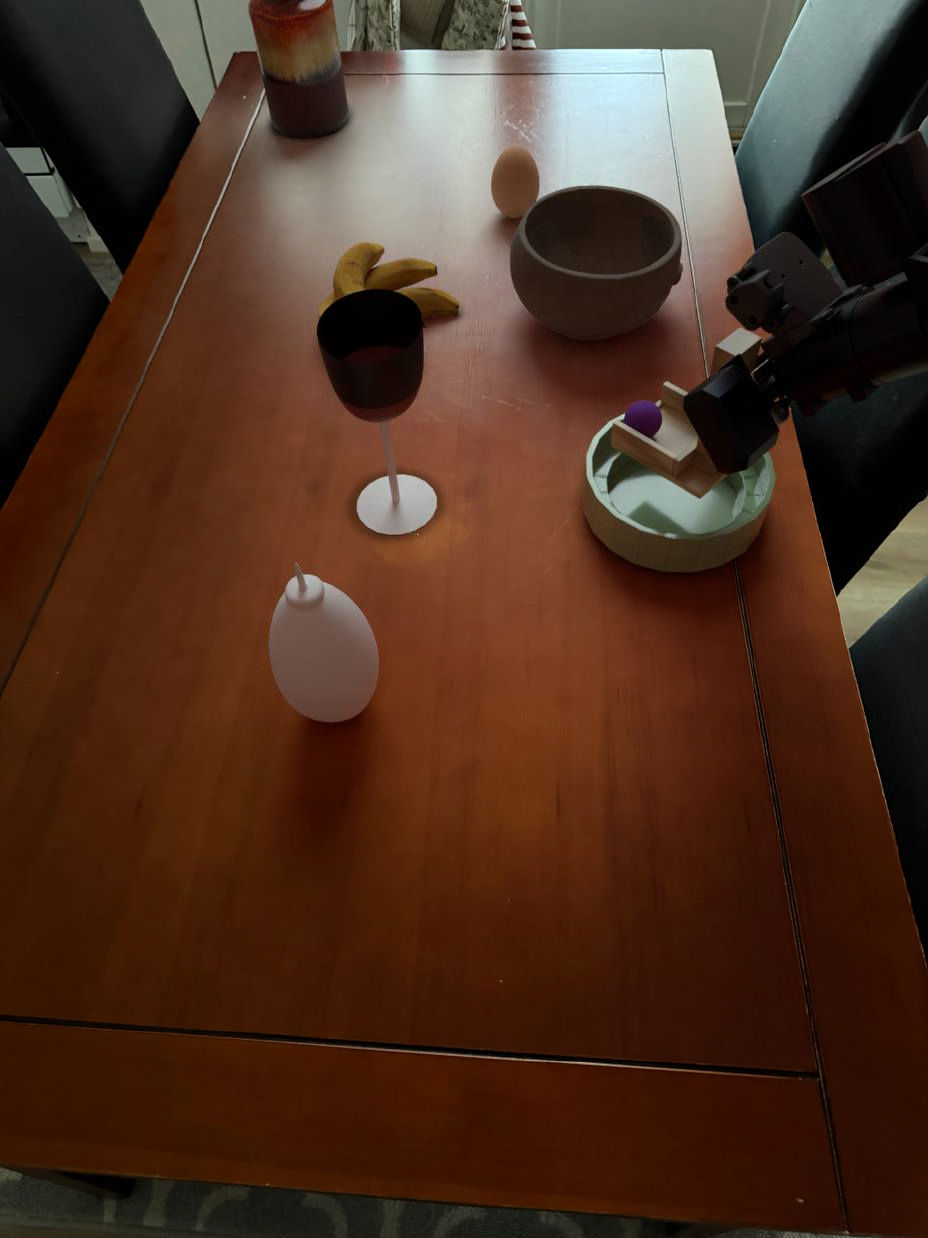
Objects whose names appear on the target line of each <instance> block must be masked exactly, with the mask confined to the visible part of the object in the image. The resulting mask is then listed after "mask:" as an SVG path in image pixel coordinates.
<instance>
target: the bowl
mask: <svg viewBox="0 0 928 1238" xmlns="http://www.w3.org/2000/svg"><path fill="white" fill-rule="evenodd" d="M509 247H510V248H509V270H510V271H509V272H510V278H511V282H512V285H513V288H514V291H515V293H516V295H517V297H518V299H519V300H520V302H521V303H522V305H523V307H524V308H525V309H526V310H527V311H528V313H529V314H530V315H532V317H533V318H534V319H536V320H537V321H538V322H539V323H540V324H541V325H543V326H544V327H545V328H547V329H549V330H551V331H552V332H555V333H557V334H560V335H563V336H565V337H569V338H572V339H576V340H582V341H599V340H601V341H602V340H605V339H611V338H614V337H617V336H619V335H623V334H625V333H627V332H631V331H634V330H636V329H638V328H639V327H641V326H642V325H643V324H645V323H646V322H648V321H649V320H650V319H652V317H654V316H655V315H656V314H657V313H658V312H659V311H660V309H661V308H662V306H663V305H664V303H665V302H666V300H667V299H668V297H669V295H670V294H671V290H672V288H673V286H677V285H678V284H679V282H680V281H681V279H682V274H683V272H684V265H683V263H682V262H681V258H682V251H683V249H682V248H683V235H682V229H681V226H680V223H679V221H678V220H677V218H676V217H675V215H674V214H673V212H671V210H670V209H669V208H667V207H666V206H665V205H663V204H662V203H660V202H659V201H657V200H655V199H654V198H652V197H650V196H647V195H645V194H643V193H640V192H638V191H635V190H631V189H627V188H622V187H617V186H609V185H597V184H596V185H595V184H594V185H593V184H591V185H575V186H574V185H573V186H567V187H565V188H561V189H558V190H554V191H552V192H550V193H548V194H546V195H543V196H542V197H541V198H539V199H537V200H536V202H535V203H534V204H532V205H531V206H530V207H529V208H528V210H527V211H526V213H525V215H524V216H522V217H521V220H520V222H519V225H518V226H517V228H516V230H515V232H514V235H513V236H512V238H511V242H510V246H509Z"/></svg>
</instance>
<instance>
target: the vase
mask: <svg viewBox="0 0 928 1238" xmlns="http://www.w3.org/2000/svg"><path fill="white" fill-rule="evenodd" d="M247 8H248V9H247V10H248V15H249V19H250V20H249V21H250V25H251V30H252V35H253V40H254V46H255V49H256V54H257V59H258V65H259V69H260V72H261V77H262V83H263V87H264V93H265V96H266V102H267V107H268V112H269V116H270V121H271V125H272V127H273V129H274V130H276V131H277V132H278V133H280V134H281V135H284V136H287V137H290V138H298V139H311V138H319V137H322V136H326V135H329V134H332V133H334V132H336V131H338V130H339V129H341V128H342V127H343V126H345V124H346V123H347V121H348V119H349V113H350V111H349V103H348V98H347V97H348V96H347V90H346V84H345V77H344V68H343V61H342V54H341V48H340V47H341V46H340V41H339V33H338V25H337V19H336V12H335V5H334V0H249V2H248V6H247Z"/></svg>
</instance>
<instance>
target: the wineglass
mask: <svg viewBox="0 0 928 1238" xmlns="http://www.w3.org/2000/svg"><path fill="white" fill-rule="evenodd" d="M396 291H397V290H395V291H391V290H385V289H369V290H362V291H357V292H354V293H351V294H348V295H346V296H344V297H342V298H340V299H338V300H337V301H335V302H334V303H332V304H331V305H330V306H329V307H328V308H327V309H326V310H325V311H324V312H323V314H322V315H321V317H320V319H319V318H318V321H317V325H316V337H317V341H318V346H319V351H320V354H321V358H322V361H323V364H324V367H325V370H326V371H325V372H326V374H327V376H328V377H327V378H328V379H329V382H330V384H331V387H332V389H333V391H334V393H335V395H336V397H337V398H338V400H339V402H340V403H341V404H342V406H343V407H344V409H346V410H347V411H348V412H349V413H350V414H351V415H352V416H353V417H355V418H356V419H358V420H361V421H363V422H368V423H373V424H375V423H376V424H379V425H380V430H381V431H380V433H381V439H382V443H383V444H382V445H383V451H384V458H385V464H386V471H387V475H386V476H382V477H379V478H378V479H375V480H374V481H372V482H370V483H368V485H367V486H366V487H365V488H364V489H363V490H362V491H361V492H360V495H359V496H358V497H357V500H356V512H357V515H358V518H359V520H360V521H361V523H363V524H364V526H365V527H367V528H368V529H370V530H372V531H374V532H375V533H379V534H383V535H388V536H393V535H396V536H397V535H405V534H408V533H411V532H416V531H417V530H419V529H420V528H422V527H424V526H425V525H426V524H427V523H428V522H429V521H430V520H431V519H432V518H433V517H434V515H435V513H436V510H437V507H438V498H437V495H436V493H435V490H434V488H433V487H432V486H431V485H430V484H429V483H428V482H426V480H424V479H421V478H419V477H417V476H414V475H410V474H397V467H396V460H395V453H394V447H393V440H392V433H391V425H390V421H392V420H395V419H396V418H398V417H399V416H401V415H403V414H404V413H405V412H407V410H409V408H410V407H411V406H412V405H413V403H414V401H415V400H416V398H417V395H418V393H419V391H420V388H421V385H422V382H423V377H424V376H423V375H424V366H425V337H424V328H423V320H424V319H423V317H422V314H421V311H420V309H419V307H418V306H417V304H416V303H415V302H414V301H413V300H411V299H410V298H409V297H407V296H405V295H403V294H401V293H398V292H396ZM422 319H423V320H422Z"/></svg>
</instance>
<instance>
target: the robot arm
mask: <svg viewBox="0 0 928 1238" xmlns="http://www.w3.org/2000/svg"><path fill="white" fill-rule="evenodd" d="M923 135H924V134H923V133H922V132H921V130H919V129H915V130H913V131H911V132H910V133H908V134H906V135H904V136H902V137H898V138H896V139H894V140H892V141H890V142H888V143H887V144H886V142H885V141H883V142H881V143H879V144H878V145H876V146H874V147H873V148H871V149H869V150H868V151H866V152H864V153H863V154H861V155H859V156H857V157H856V158H854V159H853V160H851V161H850V162H848V163H847V164H845V165H843V166H842V167H840V168H839V169H836V170H835V171H833V172H832V173H831V174H829V175H828V176H826V177H824V178H823V179H821V180H819V182H817V183H816V184H814V185H813V186H811V187H810V188H809V189H807V190H806V191H804V192H803V193H802V194H801V195H800V196H801V198H802V201H803V203H804V204H805V207H806V209H807V211H808V214H809V215H810V217H811V219H812V221H813V223H814V225H815V227H816V230H817V231H818V233H819V235H820V237H821V240H822V242H823V244H824V246H825V249H826V250H827V253H828V254H829V256H830V258H831V260H832V263H833V264H834V266H835V269H836V271H837V273H838V275H839V276H837V277H834V278H833V274H832V272H831V270H830V269H829V267H827V265H825V264H824V263H823V262H822V261H821V260H820V258H819V257H817V255H816V254H815V253H814V252H813V251H812V250H811V249H810V248H809V247H808V246H807V245H806V244H805V243H804V242H803V241H802V240H801V239H800V238H799V237H798V236H797V235H795V234H793V233H792V232H788V231H783V232H780V233H779V234H777V235H776V236H774V237H773V238H771V239H770V240H769V241H767V242H766V243H765V244H763V245H762V246H760V247H759V248H758V249H757V250H755V251H754V252H753V253H752V254H751V255H750V256H749V257H748V259H747V260H746V261H745V263H744V264H743V266H742V267H741V268H740V269H739V270H738V271H736V272H735V273H733V274H732V275H731V276H730V277H728V278H727V279H726V286H727V287H726V293H727V296H726V297H725V298H724V301H725V302H724V303H725V308H726V309H727V311H728V312H729V313H730V314H731V315H732V317H734V318H735V319H736V320H737V321H738V322H739V323H740V325H741V326H742V328H743V329H745V330H747V331H749V332H755V331H757V330H758V329H761V330H762V331H764V332H765V333H766V334H767V333H768V334H769V335H770V334H771V336H769V337H767V338H766V339H765V340H762V342H761V344H760V345H761V346H760V348H761V350H762V352H761V353H759V354H758V358H757V363H756V367H755V370H754V371H752V372H751V373H750V372H749V370H748V368H747V366H746V364H745V362H744V360H743V358H742V357H741V355H740V353H738V354H737V355H736V356H735V357H733V358H732V359H731V360H730V361H728V362H727V363H726V364H725V365H723V366H722V367H721V368H720V369H719V370H718V371H717V373H715V374H714V375H712V376H710V375H709V376H708V377H707V378H706V379H704V380H703V381H702V382H701V383H698V385H697V386H695V387H694V388H693V389H692V390H690V391H689V392H688V394H687V395H685V396H684V400H683V410H684V411H685V413H686V415H687V417H688V419H689V420H690V422H691V424H692V426H693V428H694V429H695V431H696V433H697V435H698V437H699V438H700V440H701V442H702V444H703V446H704V447H705V449H706V451H707V453H708V455H709V456H710V458H711V460H712V462H713V464H714V465H715V467H716V469H717V471H718V472H719V473H723V474H726V475H728V474H732V473H736V472H740V471H744V470H747V469H748V468H749V467H750V466H751V465H753V464H754V463H755V462H756V461H757V460H758V459H759V458H761V457H762V456H763V455H764V454H765V453H766V452H768V453H769V451H770V450H772V448H773V447H775V446H776V445H777V442H778V438H779V434H780V427H781V426H782V425H783V424H785V423H786V422H788V420H789V419H790V414H791V413H790V412H791V411H790V407H791V406H792V405H793V404H794V403H795V404H796V406H797V407H798V410H799V411H800V413H801V415H802V417H803V418H808V417H812V416H814V415H816V414H818V413H819V412H820V411H821V410H822V409H823V408H824V407H826V406H827V405H828V404H829V403H831V402H832V401H833V400H837V399H839V398H843V397H847V396H849V398H850V400H851V402H852V404H856V403H859V402H862V401H865V400H868V399H869V398H870V397H871V396H872V395H873V394H874V393H876V391H877V390H878V389H879V388H881V387H882V386H883V385H886V384H889V383H893V382H895V381H898V380H903V379H905V378H909V377H911V376H914V375H918V374H922V373H925V372H927V371H928V144H927V143H926V140H925V138H924V136H923ZM902 273H904V275H905V277H903V278H901V279H899V280H896V281H894V282H891V283H889V284H887V285H884V286H882V287H880V288H877V289H876V288H875V286H877V285H879V284H882V283H884V282H887V281H889V280H891V279H892V278H894V277H897V276H898V275H900V274H902ZM777 399H778V400H777Z"/></svg>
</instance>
